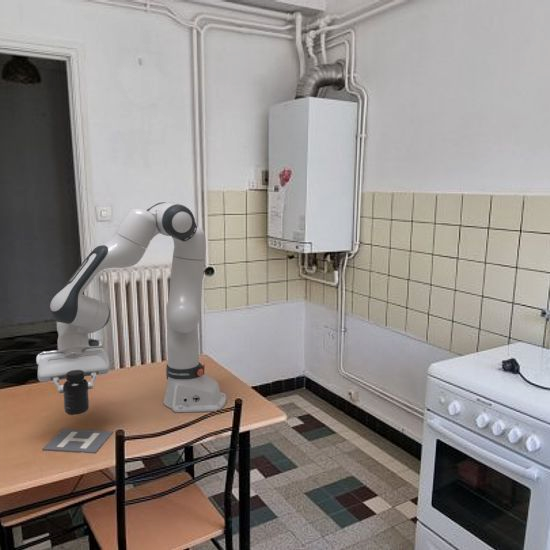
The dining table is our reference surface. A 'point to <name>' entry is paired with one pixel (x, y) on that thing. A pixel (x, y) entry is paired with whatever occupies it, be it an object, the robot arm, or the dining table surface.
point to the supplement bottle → (75, 393)
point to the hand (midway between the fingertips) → (75, 390)
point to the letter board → (78, 441)
